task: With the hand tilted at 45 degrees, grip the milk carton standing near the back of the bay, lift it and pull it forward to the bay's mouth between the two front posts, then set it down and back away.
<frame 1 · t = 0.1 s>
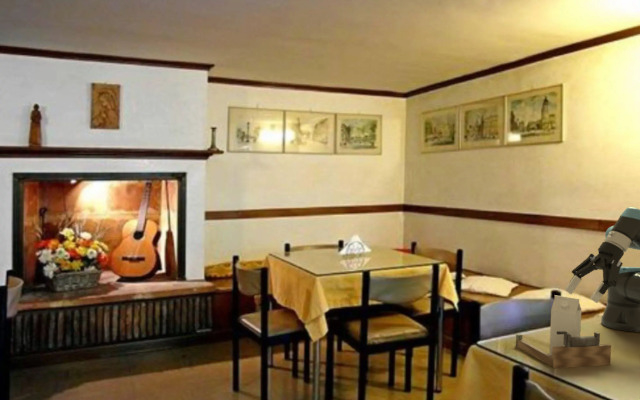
hand: (580, 296, 178), 15 cm above the table, tool tilted 35°, fingers open, 13 cm apart
bay: (560, 354, 163), on the table
milk carton: (564, 357, 161), on the table
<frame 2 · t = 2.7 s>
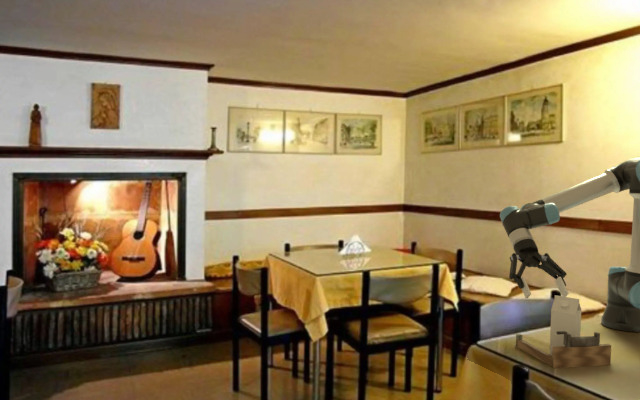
hand: (547, 295, 167), 17 cm above the table, tool tilted 45°, fingers open, 13 cm apart
nothing on the table moved.
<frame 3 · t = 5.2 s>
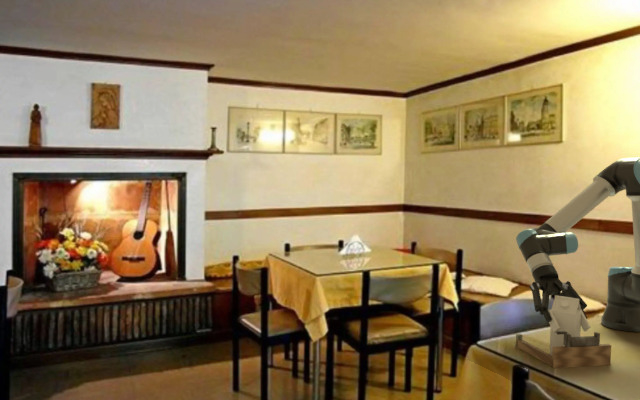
hand: (572, 329, 157), 9 cm above the table, tool tilted 45°, fingers closed on milk carton, 10 cm apart
milk carton: (564, 357, 161), on the table, touching gripper
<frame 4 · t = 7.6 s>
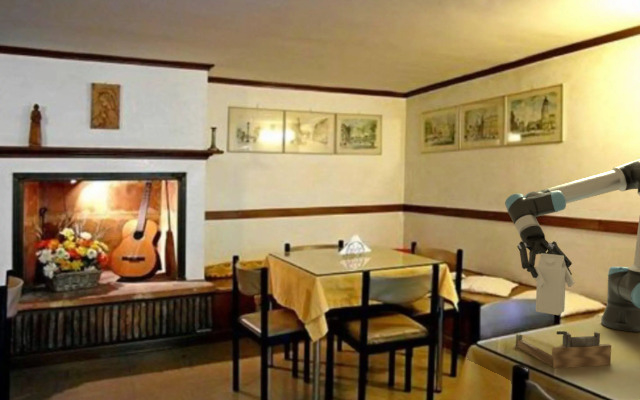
hand: (557, 285, 164), 22 cm above the table, tool tilted 45°, fingers closed on milk carton, 10 cm apart
milk carton: (550, 312, 168), point 12 cm above the table, touching gripper
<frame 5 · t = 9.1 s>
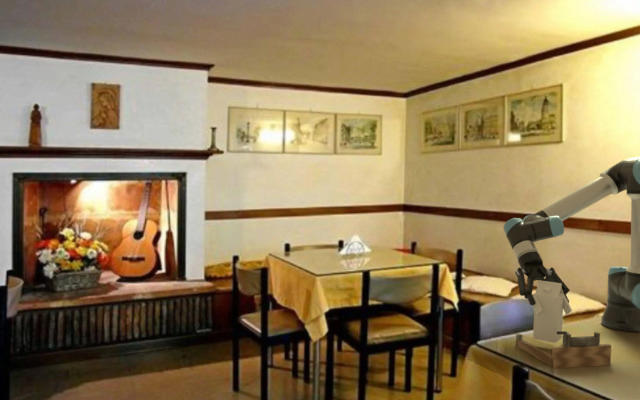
hand: (554, 312, 165), 13 cm above the table, tool tilted 45°, fingers closed on milk carton, 10 cm apart
milk carton: (547, 339, 168), point 3 cm above the table, touching gripper
when the fingers open (10 cm above the table, at t = 10.1 s): milk carton stays where it is, on the table.
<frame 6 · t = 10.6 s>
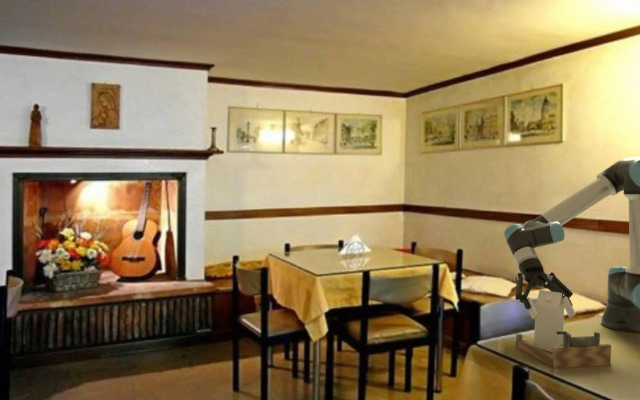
hand: (554, 316, 166), 11 cm above the table, tool tilted 45°, fingers open, 13 cm apart
milk carton: (548, 348, 169), on the table
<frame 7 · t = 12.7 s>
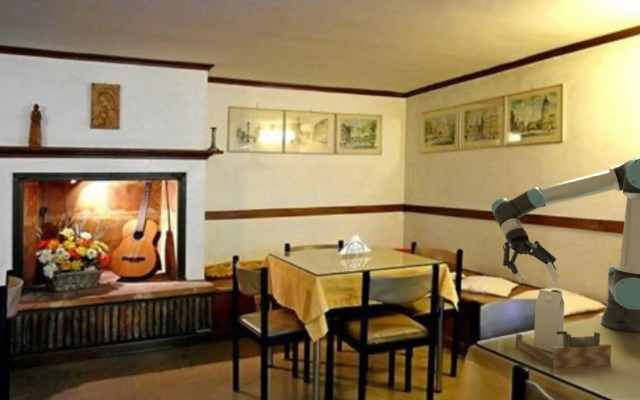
hand: (539, 280, 179), 20 cm above the table, tool tilted 45°, fingers open, 13 cm apart
nothing on the table moved.
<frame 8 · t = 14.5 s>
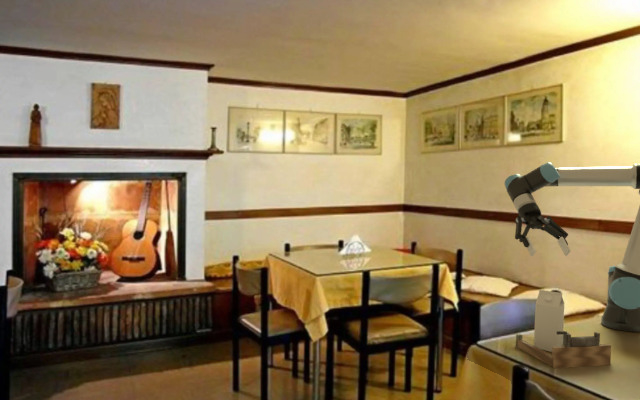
hand: (550, 253, 180), 30 cm above the table, tool tilted 45°, fingers open, 13 cm apart
nothing on the table moved.
at the end: milk carton inside the target area (0.4 cm from its centre), on the table; milk carton tilted 0°; milk carton moved 8.1 cm from its start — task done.
